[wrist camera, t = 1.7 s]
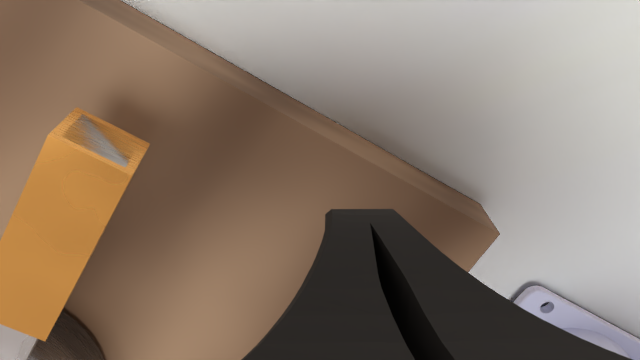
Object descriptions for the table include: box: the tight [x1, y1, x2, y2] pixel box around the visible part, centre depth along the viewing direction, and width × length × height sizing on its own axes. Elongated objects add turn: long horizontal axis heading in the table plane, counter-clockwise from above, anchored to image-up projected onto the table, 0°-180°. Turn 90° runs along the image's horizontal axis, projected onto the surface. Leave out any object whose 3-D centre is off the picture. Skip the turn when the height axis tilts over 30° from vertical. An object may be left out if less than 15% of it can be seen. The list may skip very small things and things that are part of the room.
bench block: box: [0, 0, 500, 360], centre depth 20 cm, size 19×19×2 cm
